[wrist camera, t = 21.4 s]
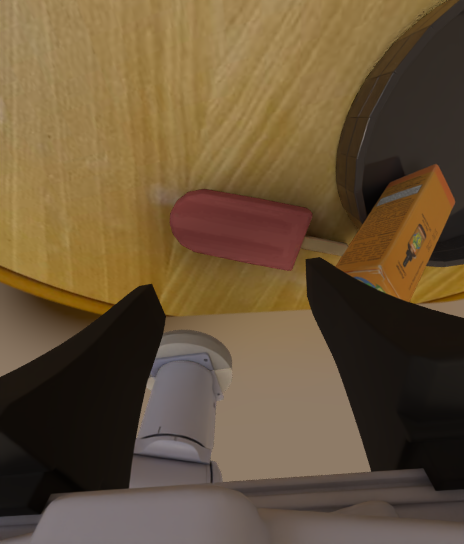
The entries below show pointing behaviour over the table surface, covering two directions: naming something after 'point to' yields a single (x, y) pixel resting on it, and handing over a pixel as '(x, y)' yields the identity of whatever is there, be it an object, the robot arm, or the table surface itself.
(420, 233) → the supplement box
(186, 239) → the popsicle
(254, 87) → the table surface
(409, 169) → the pan
